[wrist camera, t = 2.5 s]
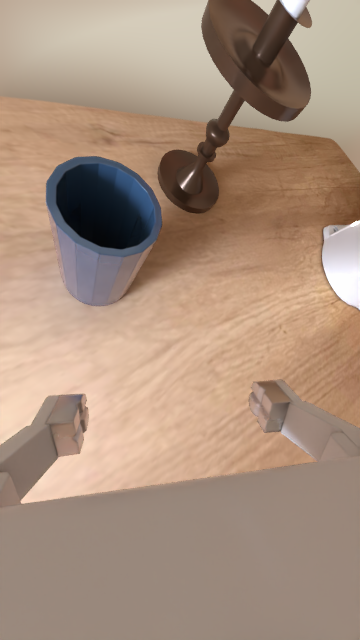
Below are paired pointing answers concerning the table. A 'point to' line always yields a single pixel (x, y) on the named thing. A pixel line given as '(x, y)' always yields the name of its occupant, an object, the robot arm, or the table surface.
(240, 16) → the candlestick
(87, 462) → the table surface
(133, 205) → the cup
